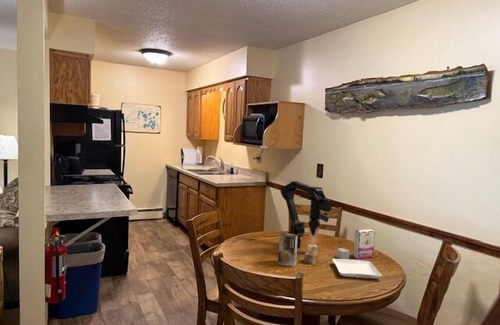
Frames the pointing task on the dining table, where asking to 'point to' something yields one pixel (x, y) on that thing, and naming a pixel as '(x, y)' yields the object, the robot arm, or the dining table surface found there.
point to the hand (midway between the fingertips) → (313, 234)
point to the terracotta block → (314, 234)
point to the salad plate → (356, 268)
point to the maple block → (312, 248)
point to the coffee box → (287, 249)
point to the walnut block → (309, 257)
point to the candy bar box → (364, 243)
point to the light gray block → (342, 253)
